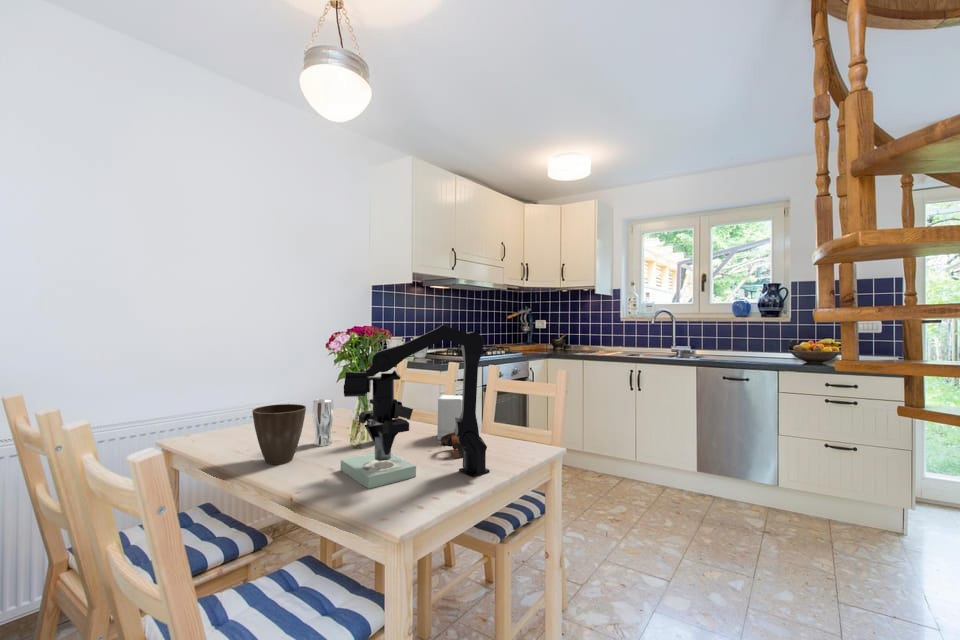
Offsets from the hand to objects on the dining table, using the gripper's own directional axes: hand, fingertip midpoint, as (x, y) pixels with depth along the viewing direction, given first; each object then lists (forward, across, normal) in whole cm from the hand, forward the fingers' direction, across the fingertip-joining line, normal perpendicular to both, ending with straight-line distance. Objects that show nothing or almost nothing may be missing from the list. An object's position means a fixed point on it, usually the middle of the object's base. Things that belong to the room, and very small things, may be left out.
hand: (383, 452), depth 121 cm
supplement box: (+7, +21, -39) cm, 45 cm away
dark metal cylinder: (+2, 0, 0) cm, 2 cm away
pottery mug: (+7, +4, -29) cm, 30 cm away
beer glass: (+7, +42, +1) cm, 43 cm away
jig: (+6, +3, 0) cm, 7 cm away
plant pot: (+7, +32, +18) cm, 37 cm away
